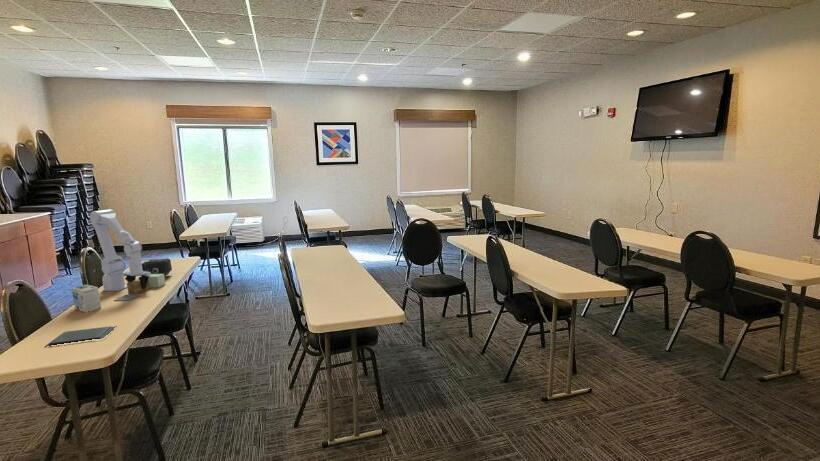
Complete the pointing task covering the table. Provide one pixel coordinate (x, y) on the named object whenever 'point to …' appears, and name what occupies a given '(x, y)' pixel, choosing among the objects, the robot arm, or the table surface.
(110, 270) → the robot arm
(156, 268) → the camera
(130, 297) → the slate mat
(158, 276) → the sage cover
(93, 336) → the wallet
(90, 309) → the light bulb box
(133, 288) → the brown box
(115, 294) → the table surface
